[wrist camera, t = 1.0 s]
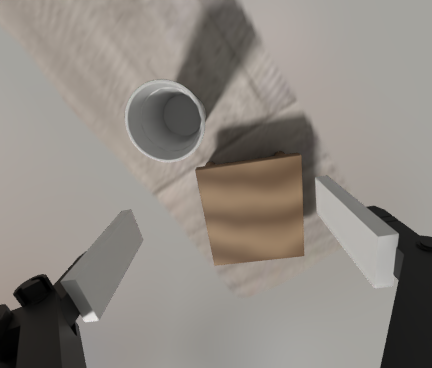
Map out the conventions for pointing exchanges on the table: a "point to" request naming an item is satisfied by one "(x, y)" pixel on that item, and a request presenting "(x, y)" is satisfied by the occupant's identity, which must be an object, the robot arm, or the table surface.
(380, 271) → the robot arm
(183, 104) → the cup
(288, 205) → the low wooden table
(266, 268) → the table surface
